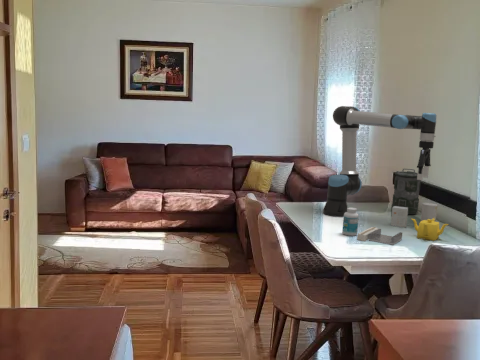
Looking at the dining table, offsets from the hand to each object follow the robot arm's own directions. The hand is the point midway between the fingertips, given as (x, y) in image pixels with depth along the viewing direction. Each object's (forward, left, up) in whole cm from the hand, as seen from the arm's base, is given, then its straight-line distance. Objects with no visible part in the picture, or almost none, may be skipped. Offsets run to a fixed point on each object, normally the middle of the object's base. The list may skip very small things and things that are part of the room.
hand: (422, 178), depth 303 cm
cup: (+4, +5, -27) cm, 28 cm away
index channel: (-3, -50, -27) cm, 56 cm away
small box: (-8, -11, -27) cm, 30 cm away
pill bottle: (-21, -52, -27) cm, 62 cm away
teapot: (+12, -28, -27) cm, 41 cm away
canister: (-17, +32, -27) cm, 45 cm away
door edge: (-12, -50, -27) cm, 58 cm away
